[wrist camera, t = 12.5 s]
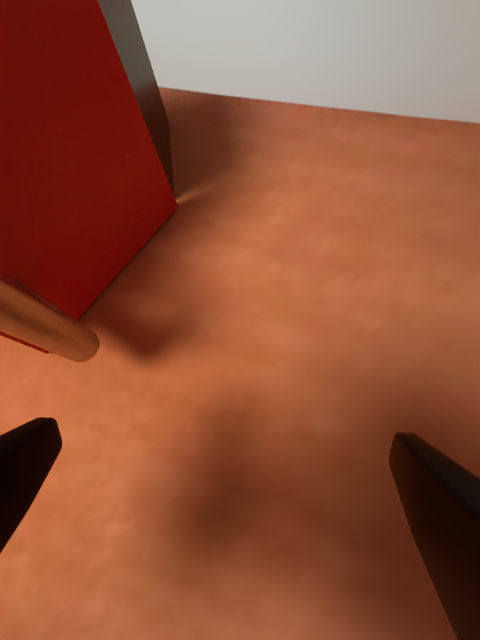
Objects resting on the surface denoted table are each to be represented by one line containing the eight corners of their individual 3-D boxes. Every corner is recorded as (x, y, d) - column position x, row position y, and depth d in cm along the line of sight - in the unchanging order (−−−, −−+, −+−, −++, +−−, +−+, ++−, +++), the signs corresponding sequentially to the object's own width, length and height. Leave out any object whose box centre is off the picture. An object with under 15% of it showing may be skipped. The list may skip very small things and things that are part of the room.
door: (236, 234, 20) (146, -345, 5) (107, 401, 17) (-1435, 21, 2) (170, 203, 22) (-37, -299, 7) (39, 347, 18) (-995, -72, 3)
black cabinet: (174, 200, 22) (-28, -316, 7) (6, 232, 23) (-531, -195, 7) (168, 119, 26) (29, -323, 11) (25, 147, 27) (-301, -244, 11)
